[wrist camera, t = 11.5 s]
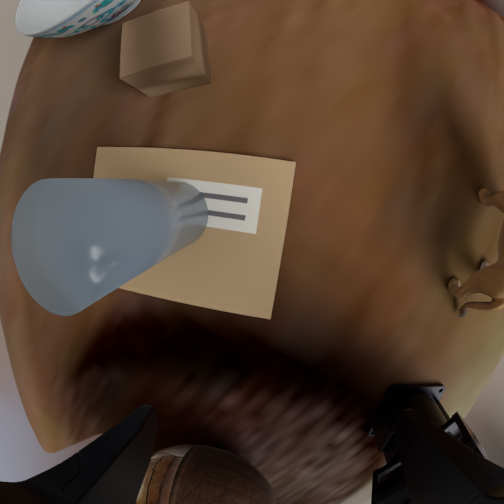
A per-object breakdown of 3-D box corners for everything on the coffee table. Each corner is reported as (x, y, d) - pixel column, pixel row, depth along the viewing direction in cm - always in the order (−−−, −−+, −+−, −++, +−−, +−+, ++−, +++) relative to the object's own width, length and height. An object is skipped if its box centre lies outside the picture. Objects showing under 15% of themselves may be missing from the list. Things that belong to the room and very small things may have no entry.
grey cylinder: (194, 171, 20) (71, 151, 7) (218, 233, 21) (122, 297, 8) (139, 197, 21) (0, 214, 8) (161, 255, 22) (40, 326, 9)
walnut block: (207, 33, 18) (188, 1, 13) (211, 83, 19) (191, 55, 14) (150, 49, 19) (122, 23, 14) (150, 98, 20) (119, 78, 15)
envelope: (295, 162, 19) (295, 162, 19) (270, 317, 22) (270, 319, 21) (99, 147, 21) (97, 147, 20) (91, 279, 23) (88, 280, 23)
